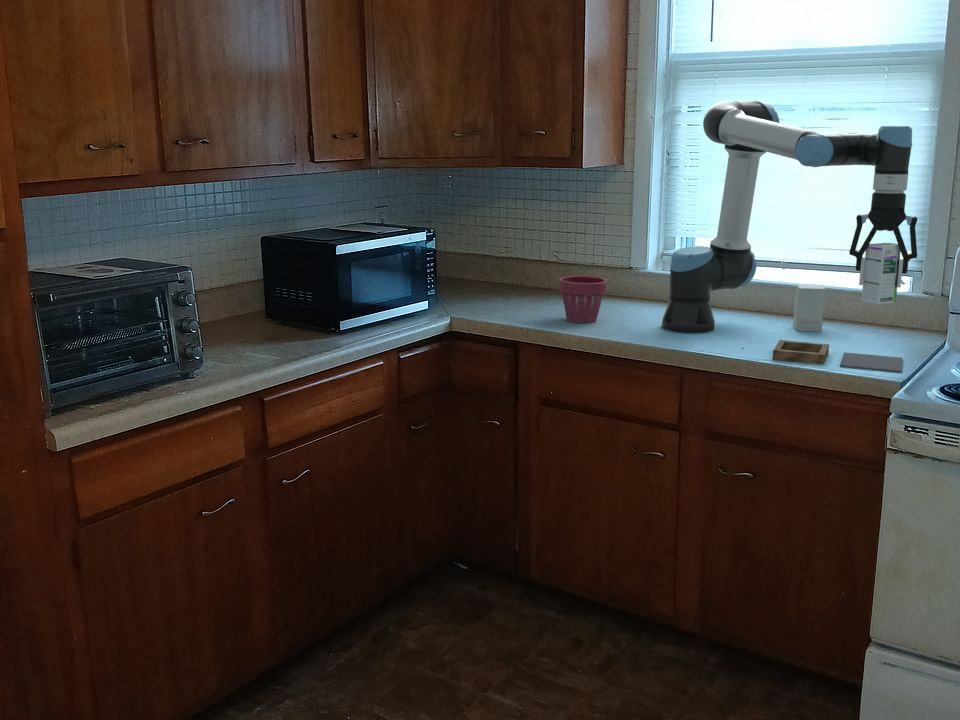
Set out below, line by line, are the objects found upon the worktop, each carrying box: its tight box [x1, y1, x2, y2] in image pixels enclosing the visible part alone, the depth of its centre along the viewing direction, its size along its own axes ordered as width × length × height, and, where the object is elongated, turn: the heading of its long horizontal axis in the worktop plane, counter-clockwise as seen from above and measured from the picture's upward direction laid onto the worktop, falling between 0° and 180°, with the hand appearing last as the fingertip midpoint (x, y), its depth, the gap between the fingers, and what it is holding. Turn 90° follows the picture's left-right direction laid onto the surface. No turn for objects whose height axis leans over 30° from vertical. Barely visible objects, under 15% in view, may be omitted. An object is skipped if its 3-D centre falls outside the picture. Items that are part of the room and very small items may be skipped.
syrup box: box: [861, 242, 901, 306], centre depth 231 cm, size 6×6×14 cm
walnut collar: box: [772, 339, 830, 365], centre depth 243 cm, size 12×12×2 cm
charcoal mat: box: [839, 351, 903, 374], centre depth 237 cm, size 14×14×1 cm
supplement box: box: [792, 284, 826, 333], centre depth 274 cm, size 7×7×13 cm
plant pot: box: [558, 275, 608, 324], centre depth 286 cm, size 14×14×13 cm
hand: (879, 285), depth 232 cm, fingers closed on syrup box, 8 cm apart
